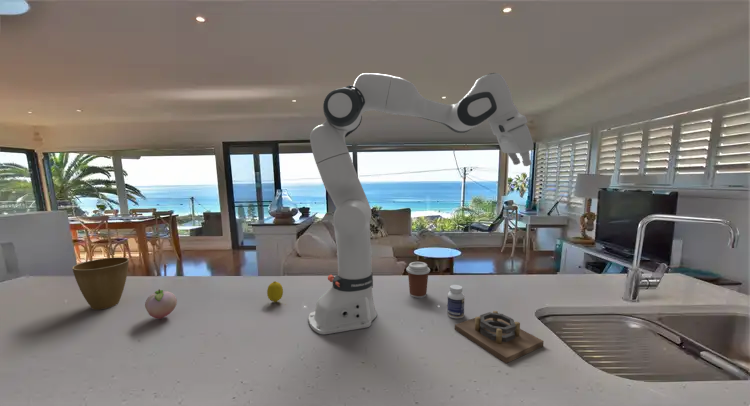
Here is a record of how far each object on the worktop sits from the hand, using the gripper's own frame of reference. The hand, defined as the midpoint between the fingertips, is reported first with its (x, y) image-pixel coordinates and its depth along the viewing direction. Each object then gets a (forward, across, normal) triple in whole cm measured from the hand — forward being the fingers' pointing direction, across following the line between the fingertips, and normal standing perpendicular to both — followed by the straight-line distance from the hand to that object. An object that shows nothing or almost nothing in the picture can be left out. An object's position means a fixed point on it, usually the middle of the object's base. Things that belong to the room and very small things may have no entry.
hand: (522, 164), depth 92 cm
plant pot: (-15, +15, -153) cm, 154 cm away
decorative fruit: (-3, +21, -126) cm, 128 cm away
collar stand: (+40, +19, -29) cm, 53 cm away
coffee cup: (+33, -8, -50) cm, 60 cm away
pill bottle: (+37, +7, -38) cm, 54 cm away
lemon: (+11, +5, -97) cm, 98 cm away
